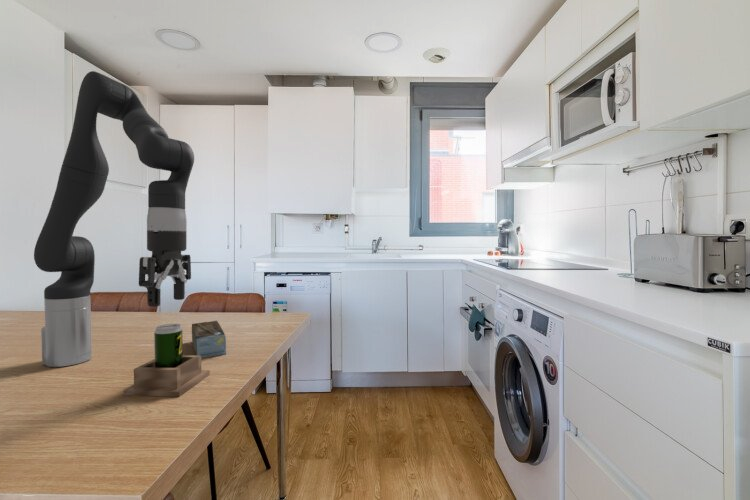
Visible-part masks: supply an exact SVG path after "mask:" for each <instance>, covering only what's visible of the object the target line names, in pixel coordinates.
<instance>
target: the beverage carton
mask: <svg viewBox="0 0 750 500" xmlns="http://www.w3.org/2000/svg"><path fill="white" fill-rule="evenodd" d="M226 339H227V338H226V334H225V332H224V330H223V328H222V326H221V325H220V323H219V322H218V320H212V321H203V322H194V323H192V324H191V340H192V346H193V350H194V352H195V355H196V356H201V359H203V358H210V357H215V356H222V355H223V356H224V355H227V340H226Z"/></svg>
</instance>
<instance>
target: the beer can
mask: <svg viewBox="0 0 750 500" xmlns="http://www.w3.org/2000/svg"><path fill="white" fill-rule="evenodd" d="M153 333H154V338H153V339H154V359H155V368H176V367H177V366H179V365H181V364H183V355H184V354H183V353H184V352H183V350H184V349H183V328H182V325H181V323H167V324H161V325H157V326H155V331H154V332H153Z"/></svg>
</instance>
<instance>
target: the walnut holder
mask: <svg viewBox="0 0 750 500" xmlns="http://www.w3.org/2000/svg"><path fill="white" fill-rule="evenodd" d="M210 375H211V371H210V370H209V369H208V370H207V369H206V370H202V358H201V356H197V355H196V354H195V355H191V354H190V355H187V354H183V364H181V365H179V366H177V367H176V368H155V358H154V359H152V360H149V361H147V362H145V363H143V364H142V365H139V366H138V367H135V368H134V369H133V384H132V385H131V386H128V387H127V388H125V389H124V390H123V394H122V395H123V396H139V397H140V396H141V397H142V396H143V397H146V396H147V397H177V398H178V397H181V396H183V395H184V394H186V392H188V391H190V390H191V389H192V388H193V387H195V386H197V384H200V383H201V382H202V381H203V380H204V379H206V378H208V376H210Z"/></svg>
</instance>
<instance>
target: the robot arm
mask: <svg viewBox="0 0 750 500" xmlns="http://www.w3.org/2000/svg"><path fill="white" fill-rule="evenodd" d="M78 91H79V92H78V96H77V102H76V107H75V114H74V120H73V124H72V131H71V133H70V137H69V141H68V144H67V148H66V151H65V154H64V158H63V161H62V164H61V167H60V171H59V174H58V180H57V182H56V188H55V191H54V195H53V198H52V201H51V205H50V208H49V211H48V213H47V216H46V219H45V221H44V224H43V225H42V229H41V231H40V233H39V235H38V237H37V239H36V243H35V246H34V250H33V251H34V252H33V260H34V264H35V265H36V266H37V268H38V269H39V270H41V271H43V272H46V273H60V276H59V278H58V279H57V280H56V281H55V282H53V283H52V284H50V285H48V286H46V287H45V288H44V291H43V293H44V294H43V297H44V300H43V302H44V326H43V327H41V332H40V333H41V336H40V337H41V364H42V365H45V366H46V367H49V368H58V367H59V368H60V367H61V368H62V367H68V366H73V365H78V364H82V363H85V362H86V361H89V360H91V359H92V358H93V357H92V356H93V355H92V354H93V353H92V309H91V308H92V307H91V289H92V287H93V285H94V280H95V265H96V264H95V261H96V258H95V249H94V247H93V246H94V245H93V244H92V243H91V241H90V240H89V239H88V238H86V237H83V236H77V235H76V236H75V235H74V236H73V234H74V232H75V229H76V226H77V224H78V223H79V221H80V219H81V218H83V216H84V215H85V213H87V212H88V210H90V209H91V207H93V206H94V205H95V204H96V202H98V200H99V199H100V198H101V196H102V195H103V193H104V190H105V186H106V182H107V180H108V176H109V174H110V173H109V172H110V167H109V164H108V160H107V157H106V154H105V152H104V150H103V148H102V145H101V143H100V140H99V136H98V132H97V120H98V119H97V117H98V114H101V115H103V116H105V117H109V118H111V119H113V120H119V121H122V128H123V129H122V130H123V131H124V133H125V134H126V136H127V137H128V139H129V140H130V141H131V142H132V143H133V144H134V145H135V148H136V150H137V154H138V155H137V156H138V159H139V161H140V162H141V163H142V164H143V165H145V166H147V167H148V168H150V169H155V170H161V171H168V172H170V175H169V178H168V179H161V180H153V181H151V182H150V183H149V184H148V189H147V190H148V191H147V192H148V194H147V195H148V196H147V197H148V198H147V199H148V200H147V201H148V203H147V206H148V208H147V215H146V250H147V251H149V252H151V256H141V257H140V258H139V268H138V271H139V272H138V286H139V287H142V288H143V287H144V288H145V289H146V290H147V292H146V293H147V297H146V298H147V305H148V307H150V308H151V307H152V308H153V307H159V306H161V288H160V287H161V285H162V283H163V281H165V280H166V279H167V277H169V278H171V279H172V281H173V299H174V300H176V301H177V300H178V301H182V300H184V299H185V294H186V291H185V288H186V287H185V285H186V283H187V281H188V280H191V279H192V267H191V265H192V262H191V255H190V254H182V252H185V251H187V236H188V235H187V232H188V231H187V225H188V223H187V214H186V191H187V187H188V183H189V180H190V177H191V176H190V175H191V173H192V171H193V167H194V162H195V154H194V151H193V149H192V146H190V144H188V143H187V142H185V141H182V140H179V139H178V140H177V139H173V138H171V137H169V135H168V132H167V131H166V130H165V128H163V126H161V125H160V123H158V122H157V120H155V119H154V118H153V117H152V116H151V115H150V114H149V113H148V110H146V108H145V106H144V105H143V103H142V101H141V100H140V98H139V97H138V94H137V93H136V92H135V91H134V90H133V89H132V88H131V87H129V86H127V85H125V84H123V83H121V82H119V81H118V80H115V79H113V78H111V77H109V76H107V75H105V74H103V73H100V72H98V71H95V70H94V71H93V70H92V71H88V73H86V74H85V76H84V77H83V79H82V82H81V83H80V86H79V90H78ZM185 273H186V274H185ZM146 277H147V280H146Z"/></svg>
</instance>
